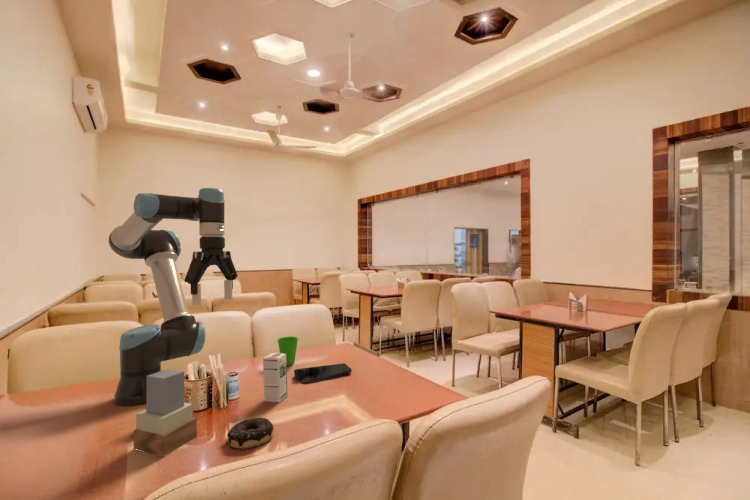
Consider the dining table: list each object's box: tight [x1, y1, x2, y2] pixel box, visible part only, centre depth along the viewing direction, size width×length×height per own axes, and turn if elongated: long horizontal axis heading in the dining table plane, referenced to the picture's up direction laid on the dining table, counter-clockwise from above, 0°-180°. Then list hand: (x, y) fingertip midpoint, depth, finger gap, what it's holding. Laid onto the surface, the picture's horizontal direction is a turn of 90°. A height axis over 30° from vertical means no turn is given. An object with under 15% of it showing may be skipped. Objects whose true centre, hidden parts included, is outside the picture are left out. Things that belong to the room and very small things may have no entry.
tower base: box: [133, 417, 198, 457], centre depth 96 cm, size 10×10×5 cm
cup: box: [276, 336, 300, 367], centre depth 160 cm, size 9×9×11 cm
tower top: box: [135, 402, 194, 435], centre depth 96 cm, size 9×9×4 cm
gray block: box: [145, 368, 185, 415], centre depth 95 cm, size 6×6×9 cm
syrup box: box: [262, 352, 288, 403], centre depth 123 cm, size 6×6×14 cm
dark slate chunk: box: [293, 362, 353, 385], centre depth 146 cm, size 15×22×5 cm
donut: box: [226, 416, 274, 450], centre depth 97 cm, size 11×12×4 cm
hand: (213, 302), depth 120 cm, fingers open, 13 cm apart
